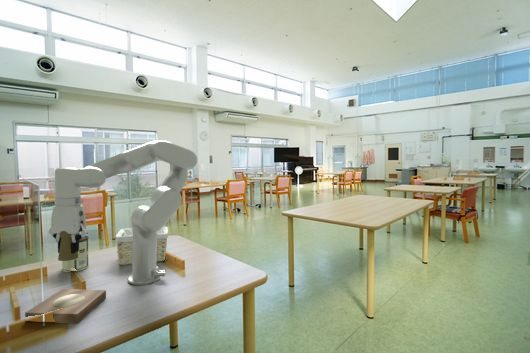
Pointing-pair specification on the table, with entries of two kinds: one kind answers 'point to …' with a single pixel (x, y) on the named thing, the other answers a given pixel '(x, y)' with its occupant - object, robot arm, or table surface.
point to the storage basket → (126, 241)
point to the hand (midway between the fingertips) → (68, 251)
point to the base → (69, 304)
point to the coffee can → (82, 258)
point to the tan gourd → (66, 247)
